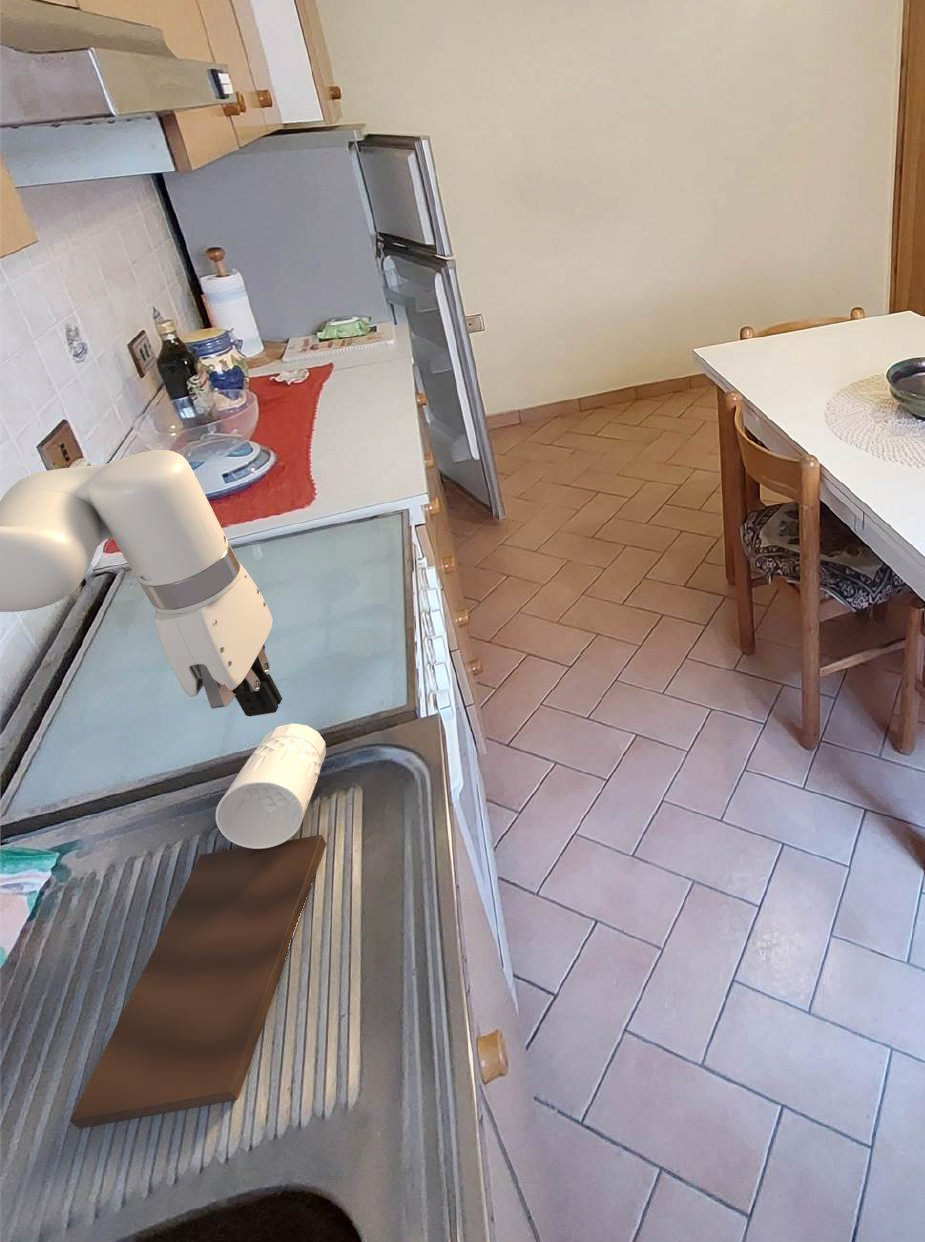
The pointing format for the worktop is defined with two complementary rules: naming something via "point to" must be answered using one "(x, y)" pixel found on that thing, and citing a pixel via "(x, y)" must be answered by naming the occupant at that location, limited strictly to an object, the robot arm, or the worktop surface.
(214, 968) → the board
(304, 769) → the white cup
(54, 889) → the worktop surface
